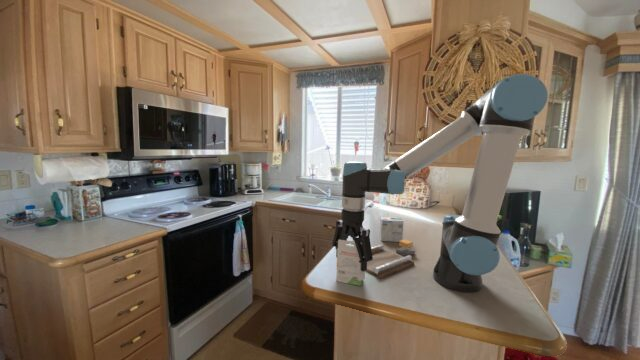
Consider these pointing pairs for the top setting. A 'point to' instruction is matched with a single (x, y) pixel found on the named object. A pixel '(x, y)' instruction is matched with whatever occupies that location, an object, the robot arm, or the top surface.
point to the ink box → (347, 263)
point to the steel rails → (390, 264)
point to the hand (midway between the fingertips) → (350, 273)
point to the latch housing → (405, 251)
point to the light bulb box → (391, 229)
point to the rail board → (383, 258)
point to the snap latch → (405, 243)
